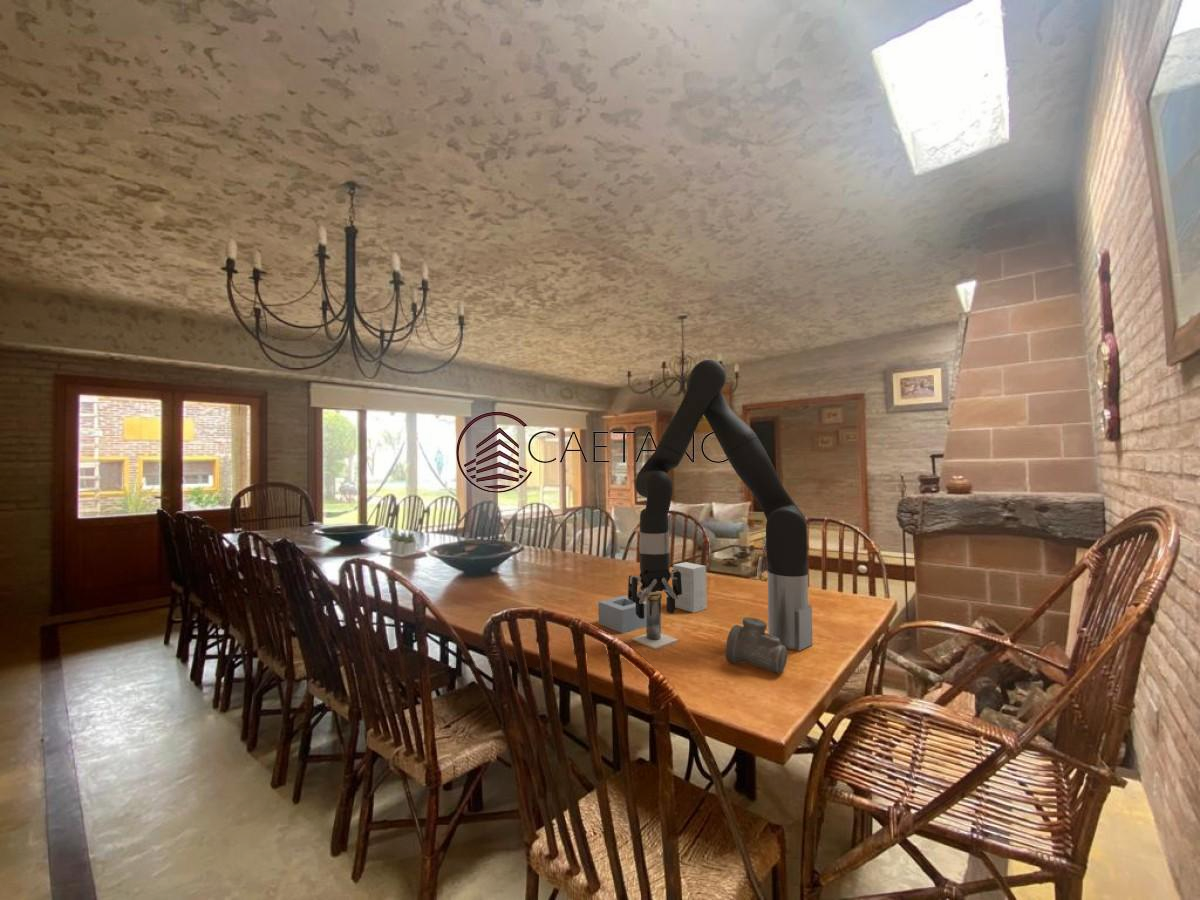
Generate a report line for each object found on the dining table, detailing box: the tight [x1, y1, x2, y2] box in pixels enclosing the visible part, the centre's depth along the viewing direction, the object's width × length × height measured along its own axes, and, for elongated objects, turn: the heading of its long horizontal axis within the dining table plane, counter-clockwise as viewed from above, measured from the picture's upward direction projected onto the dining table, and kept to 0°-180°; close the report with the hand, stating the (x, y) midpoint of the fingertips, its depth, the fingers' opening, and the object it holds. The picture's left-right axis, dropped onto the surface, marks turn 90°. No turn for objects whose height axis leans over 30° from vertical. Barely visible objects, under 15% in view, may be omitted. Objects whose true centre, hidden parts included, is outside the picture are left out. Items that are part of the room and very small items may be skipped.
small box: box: [672, 561, 708, 614], centre depth 148 cm, size 8×6×13 cm
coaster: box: [632, 632, 679, 650], centre depth 121 cm, size 8×8×1 cm
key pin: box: [645, 591, 663, 640], centre depth 122 cm, size 4×4×11 cm
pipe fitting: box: [724, 616, 788, 675], centre depth 106 cm, size 12×8×10 cm
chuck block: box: [597, 595, 647, 634], centre depth 134 cm, size 10×10×6 cm
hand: (655, 615), depth 121 cm, fingers open, 8 cm apart
